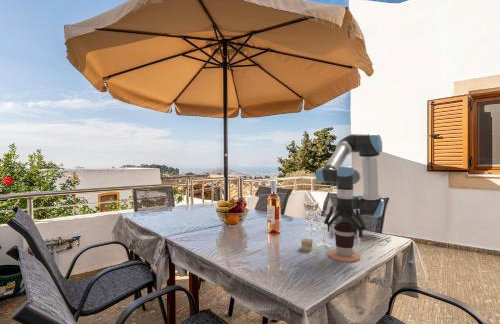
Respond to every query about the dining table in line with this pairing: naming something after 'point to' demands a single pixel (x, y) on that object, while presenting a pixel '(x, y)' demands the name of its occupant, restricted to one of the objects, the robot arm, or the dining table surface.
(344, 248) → the coffee cup
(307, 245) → the tan cube
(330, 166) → the robot arm
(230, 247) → the dining table surface
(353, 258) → the saucer
